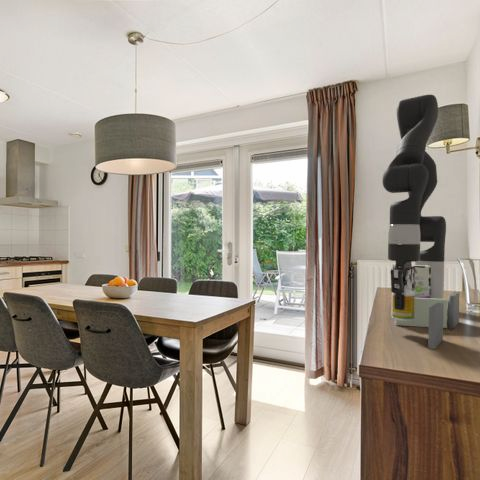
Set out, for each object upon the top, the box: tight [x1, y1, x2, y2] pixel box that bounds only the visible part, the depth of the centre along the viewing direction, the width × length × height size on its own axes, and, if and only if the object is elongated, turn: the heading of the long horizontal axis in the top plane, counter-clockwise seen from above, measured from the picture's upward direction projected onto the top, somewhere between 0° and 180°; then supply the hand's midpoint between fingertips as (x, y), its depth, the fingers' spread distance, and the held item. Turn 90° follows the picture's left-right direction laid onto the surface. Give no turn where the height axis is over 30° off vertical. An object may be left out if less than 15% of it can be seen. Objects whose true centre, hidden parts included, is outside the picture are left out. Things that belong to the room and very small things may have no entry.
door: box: [394, 298, 448, 329], centre depth 99 cm, size 13×1×8 cm, turn 81°
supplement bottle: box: [390, 282, 415, 321], centre depth 91 cm, size 5×5×10 cm
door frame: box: [427, 291, 460, 350], centre depth 92 cm, size 36×2×9 cm, turn 141°
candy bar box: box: [392, 264, 431, 298], centre depth 114 cm, size 11×5×16 cm, turn 68°
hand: (402, 307), depth 91 cm, fingers closed on supplement bottle, 5 cm apart
